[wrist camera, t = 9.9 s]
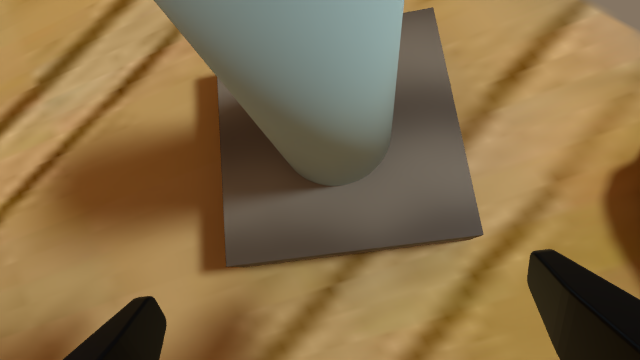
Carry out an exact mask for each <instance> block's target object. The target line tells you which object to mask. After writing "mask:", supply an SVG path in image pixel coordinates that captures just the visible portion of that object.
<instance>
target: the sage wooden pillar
mask: <svg viewBox="0 0 640 360" xmlns="http://www.w3.org/2000/svg"><path fill="white" fill-rule="evenodd" d="M154 1H155V2H156V3H157V5H158V6H159V7H160V8H161V9H162V11H163V12H164V13H165V14H166V15H167V17H168V18H169V19H170V20H171V21H172V23H173V24H174V25H175V26H176V28H177V29H178V30H179V31H180V32H181V34H182V35H183V36H184V37H185V38H186V40H187V41H188V42H189V43H190V44H191V46H192V47H193V48H194V49H195V51H196V52H197V53H198V54H199V55H200V57H201V58H202V59H203V60H204V61H205V63H206V64H207V65H208V66H209V67H210V69H211V70H212V71H213V72H214V74H215V75H216V76H217V77H218V78H219V80H220V81H221V82H222V83H223V84H224V86H225V87H226V88H227V89H228V90H229V92H230V93H231V94H232V95H233V96H234V98H235V99H236V100H237V101H238V103H239V104H240V105H241V106H242V107H243V109H244V110H245V111H246V112H247V113H248V115H249V116H250V117H251V118H252V119H253V121H254V122H255V123H256V124H257V126H258V127H259V128H260V129H261V130H262V132H263V133H264V134H265V135H266V136H267V138H268V139H269V140H270V141H271V142H272V144H273V145H274V146H275V147H276V149H277V150H278V151H279V152H280V153H281V155H282V156H283V157H284V158H285V159H286V161H287V162H288V163H289V164H290V165H291V167H292V168H293V169H294V170H295V171H296V172H297V173H298V174H299V175H301V176H302V177H304V178H305V179H307V180H309V181H311V182H314V183H317V184H321V185H326V186H341V185H346V184H350V183H353V182H356V181H358V180H360V179H362V178H364V177H365V176H367V175H368V174H370V173H371V172H372V171H373V170H374V169H375V168H376V167H377V166H378V165H379V164H380V162H381V161H382V160H383V158H384V156H385V154H386V152H387V150H388V147H389V144H390V139H391V131H392V121H393V110H394V100H395V90H396V79H397V69H398V59H399V48H400V38H401V27H402V17H403V7H404V0H154Z"/></svg>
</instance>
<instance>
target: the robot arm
mask: <svg viewBox="0 0 640 360" xmlns="http://www.w3.org/2000/svg"><path fill="white" fill-rule="evenodd" d="M527 282H528V286H529V289H530V291H531V294H532V296H533V298H534V301H535V303H536V306H537V308H538V310H539V313H540V315H541V318H542V320H543V322H544V325H545V327H546V330H547V332H548V334H549V337H550V339H551V341H552V344H553V346H554V348H555V350H556V353H557V355H558V357H559V358H560V360H640V300H639V299H638V298H636V297H634V296H632V295H631V294H629V293H627V292H626V291H624V290H622V289H620V288H619V287H617V286H615V285H613V284H612V283H610V282H608V281H607V280H605V279H603V278H601V277H600V276H598V275H596V274H594V273H593V272H591V271H589V270H588V269H586V268H584V267H582V266H581V265H579V264H577V263H575V262H574V261H572V260H570V259H569V258H567V257H565V256H563V255H562V254H560V253H558V252H556V251H554V250H552V249H545V250H537V251H533V252H532V253H531V255H530V260H529V267H528V275H527ZM165 331H166V318H165V316H164V314H163V312H162V310H161V309H160V307H159V305H158V303H157V302H156V300H155V298H153V297H152V296H146V297H138V298H135V299H133V300H132V301H131V302H130V303H128V304H127V305H126V306H125V307H124V308H123V309H121V310H120V311H119V312H118V313H117V314H116V315H114V316H113V317H112V318H111V319H110V320H109V321H107V322H106V323H105V324H104V325H103V326H102V327H100V328H99V329H98V330H97V331H96V332H94V333H93V334H92V335H91V336H90V337H89V338H87V339H86V340H85V341H84V342H83V343H82V344H80V345H79V346H78V347H77V348H76V349H75V350H73V351H72V352H71V353H70V354H69V355H68V356H66V357H65V358H64V359H63V360H159V358H160V354H161V349H162V345H163V340H164V335H165Z"/></svg>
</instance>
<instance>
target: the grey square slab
mask: <svg viewBox="0 0 640 360" xmlns="http://www.w3.org/2000/svg"><path fill="white" fill-rule="evenodd" d="M217 84H218V104H219V125H220V146H221V167H222V188H223V209H224V230H225V251H226V267H249V266H258V265H266V264H274V263H282V262H290V261H298V260H307V259H315V258H323V257H331V256H339V255H347V254H356V253H364V252H372V251H380V250H388V249H397V248H405V247H413V246H421V245H429V244H437V243H446V242H454V241H462V240H470V239H473V238H476V237H479V236H482V235H483V230H482V226H481V221H480V217H479V212H478V208H477V203H476V199H475V194H474V190H473V185H472V181H471V176H470V172H469V167H468V163H467V158H466V154H465V149H464V145H463V140H462V136H461V131H460V127H459V122H458V118H457V113H456V109H455V104H454V100H453V95H452V91H451V86H450V81H449V77H448V72H447V68H446V63H445V59H444V54H443V50H442V45H441V41H440V36H439V32H438V27H437V23H436V18H435V14H434V9H433V8H428V9H422V10H417V11H412V12H407V13H403V17H402V27H401V38H400V48H399V59H398V69H397V79H396V90H395V100H394V110H393V121H392V131H391V139H390V144H389V147H388V150H387V152H386V154H385V156H384V158H383V160H382V161H381V162H380V164H379V165H378V166H377V167H376V168H375V169H374V170H373V171H372V172H371V173H370V174H368V175H367V176H365V177H364V178H362V179H360V180H358V181H356V182H353V183H350V184H346V185H341V186H326V185H321V184H317V183H314V182H311V181H309V180H307V179H305V178H304V177H302V176H301V175H299V174H298V173H297V172H296V171H295V170H294V169H293V168H292V167H291V165H290V164H289V163H288V162H287V161H286V159H285V158H284V157H283V156H282V155H281V153H280V152H279V151H278V150H277V149H276V147H275V146H274V145H273V144H272V142H271V141H270V140H269V139H268V138H267V136H266V135H265V134H264V133H263V132H262V130H261V129H260V128H259V127H258V126H257V124H256V123H255V122H254V121H253V119H252V118H251V117H250V116H249V115H248V113H247V112H246V111H245V110H244V109H243V107H242V106H241V105H240V104H239V103H238V101H237V100H236V99H235V98H234V96H233V95H232V94H231V93H230V92H229V90H228V89H227V88H226V87H225V86H224V84H223V83H222V82H221V81H220V80H219V78H218V77H217Z"/></svg>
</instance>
